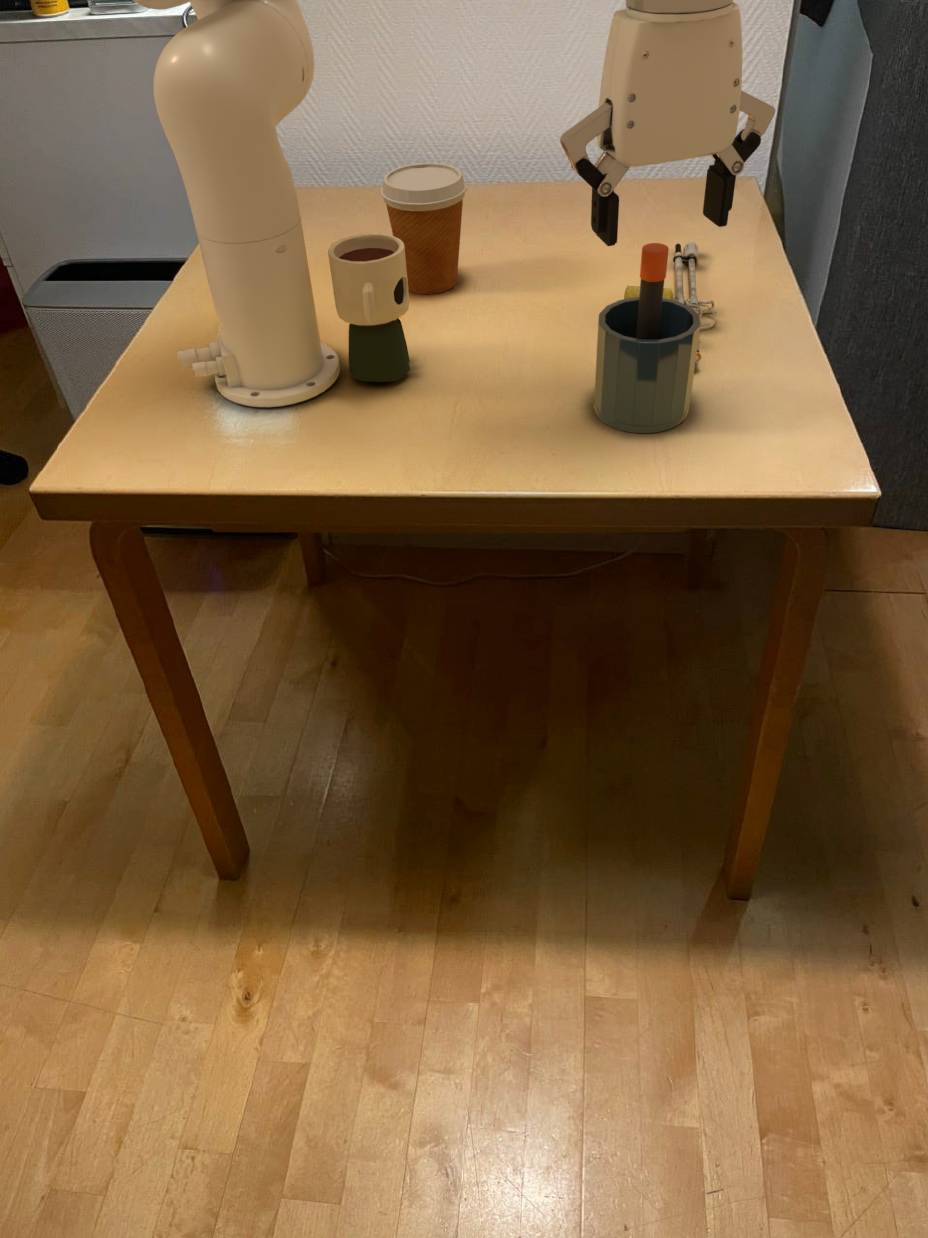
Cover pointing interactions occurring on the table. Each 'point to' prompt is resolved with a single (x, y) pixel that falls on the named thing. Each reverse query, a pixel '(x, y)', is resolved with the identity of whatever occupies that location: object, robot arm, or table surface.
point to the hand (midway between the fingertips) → (660, 230)
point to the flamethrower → (693, 302)
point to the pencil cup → (645, 367)
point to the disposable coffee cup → (427, 222)
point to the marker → (651, 290)
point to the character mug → (372, 303)
